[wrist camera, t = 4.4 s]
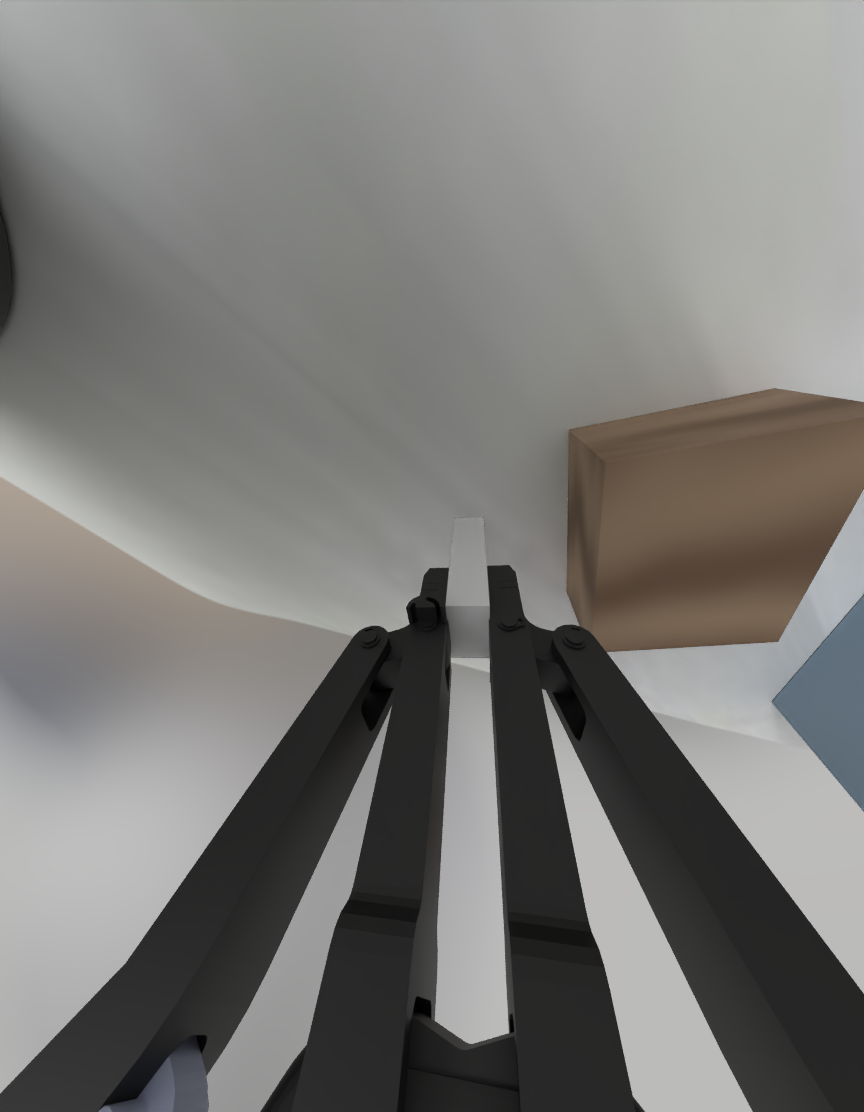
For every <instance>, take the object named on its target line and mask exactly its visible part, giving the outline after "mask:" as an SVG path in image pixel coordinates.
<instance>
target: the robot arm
mask: <svg viewBox="0 0 864 1112" xmlns="http://www.w3.org/2000/svg"><path fill="white" fill-rule="evenodd" d="M11 283H12V279H11V264H10V256H9V249H8V244H7V239H6V234H5V230H4V226H3V222H2V218H1V214H0V330H1V328H2V326H3V325H4V322H5V320H6V317H7V314H8V310H9V306H10V299H11ZM406 609H407V614H408V619H409V623H410V624H409V625H408V626H406V627H404V628H402V629H399V630H395V631H392V632H387V631H386V630H385V629H384V628H382V627H380V626H370V627H366V628H364V629H362V630H360V631H359V632H358V633H357V634H356V635H355V636H354V637H353V639H352V640H351V641H350V643H349V644H348V646H347V647H346V648H345V650H344V651H343V653H342V654H341V656H340V657H339V658H338V660H337V661H336V663H335V664H334V666H333V667H332V669H331V670H330V671H329V673H328V674H327V676H326V677H325V679H324V680H323V682H322V683H321V685H320V686H319V687H318V689H317V690H316V691H315V693H314V694H313V696H312V697H311V699H310V700H309V701H308V703H307V704H306V706H305V707H304V709H303V710H302V712H301V713H300V714H299V716H298V717H297V719H296V720H295V722H294V723H293V724H292V726H291V727H290V729H289V730H288V732H287V733H286V735H285V736H284V737H283V739H282V740H281V742H280V743H279V744H278V746H277V747H276V749H275V750H274V752H273V753H272V754H271V756H270V757H269V759H268V760H267V762H266V763H265V764H264V766H263V767H262V769H261V770H260V772H259V773H258V775H257V776H256V777H255V779H254V780H253V782H252V783H251V785H250V786H249V787H248V789H247V790H246V792H245V793H244V795H243V796H242V797H241V799H240V800H239V802H238V803H237V805H236V806H235V807H234V809H233V810H232V812H231V813H230V815H229V816H228V818H227V819H226V821H225V822H224V823H223V825H222V826H221V828H220V829H219V830H218V832H217V833H216V835H215V836H214V838H213V839H212V841H211V842H210V843H209V845H208V846H207V848H206V849H205V850H204V852H203V854H202V855H201V856H200V858H199V859H198V861H197V862H196V864H195V865H194V866H193V868H192V869H191V870H190V872H189V873H188V875H187V876H186V878H185V879H184V881H183V882H182V883H181V885H180V886H179V888H178V889H177V891H176V892H175V894H174V895H173V896H172V898H171V899H170V901H169V902H168V903H167V905H166V906H165V908H164V909H163V911H162V912H161V913H160V915H159V916H158V918H157V919H156V921H155V922H154V924H153V925H152V926H151V928H150V929H149V931H148V932H147V934H146V935H145V936H144V938H143V939H142V941H141V942H140V944H139V945H138V946H137V948H136V949H135V951H134V952H133V954H132V955H131V956H130V958H129V959H128V961H127V962H126V964H125V965H124V966H123V967H122V968H121V969H120V970H119V971H118V972H117V973H116V974H115V975H114V976H113V977H112V978H111V979H110V980H109V981H108V982H107V983H106V984H105V985H104V986H103V987H102V988H101V990H100V991H99V992H98V993H97V994H96V995H95V996H94V997H93V998H92V999H91V1000H90V1001H89V1002H88V1003H87V1004H86V1005H85V1006H84V1007H83V1008H82V1010H80V1011H79V1012H78V1013H77V1015H76V1016H75V1017H74V1018H73V1019H72V1020H71V1021H70V1022H69V1023H68V1024H67V1025H66V1026H65V1027H64V1028H63V1029H62V1030H61V1031H60V1032H59V1033H58V1034H57V1035H56V1036H55V1037H54V1039H52V1040H51V1041H50V1043H49V1044H48V1045H47V1046H46V1047H45V1048H44V1049H43V1050H42V1051H41V1052H40V1053H39V1054H38V1055H37V1056H36V1057H35V1058H34V1059H33V1060H32V1061H31V1063H29V1064H28V1065H27V1066H26V1068H25V1069H24V1070H23V1071H22V1072H21V1073H20V1074H19V1075H18V1076H17V1077H16V1078H15V1079H14V1080H13V1081H12V1082H11V1083H10V1084H9V1085H8V1086H7V1087H6V1088H5V1089H4V1090H3V1092H2V1093H1V1094H0V1112H208V1108H209V1102H208V1093H207V1090H208V1085H207V1077H206V1076H207V1074H208V1073H209V1071H210V1070H211V1068H212V1067H213V1065H214V1064H215V1062H216V1061H217V1059H218V1058H219V1056H220V1055H221V1053H222V1052H223V1050H224V1049H225V1047H226V1045H227V1044H228V1042H229V1041H230V1039H231V1037H232V1035H233V1033H234V1032H235V1030H236V1029H237V1027H238V1025H239V1023H240V1022H241V1020H242V1018H243V1017H244V1015H245V1013H246V1011H247V1010H248V1008H249V1006H250V1004H251V1002H252V1000H253V998H254V996H255V994H256V992H257V990H258V988H259V986H260V985H261V982H262V980H263V979H264V977H265V975H266V973H267V971H268V968H269V967H270V964H271V962H272V960H273V958H274V956H275V954H276V952H277V949H278V947H279V945H280V943H281V941H282V939H283V937H284V934H285V932H286V930H287V928H288V926H289V924H290V922H291V920H292V917H293V915H294V913H295V911H296V909H297V907H298V904H299V902H300V900H301V898H302V896H303V894H304V892H305V889H306V887H307V885H308V883H309V881H310V879H311V876H312V875H313V873H314V870H315V868H316V866H317V864H318V862H319V860H320V858H321V855H322V853H323V851H324V849H325V847H326V845H327V842H328V841H329V838H330V836H331V834H332V832H333V830H334V827H335V826H336V823H337V821H338V819H339V817H340V815H341V813H342V811H343V809H344V806H345V804H346V802H347V800H348V798H349V796H350V793H351V791H352V789H353V787H354V785H355V783H356V781H357V778H358V777H359V774H360V772H361V770H362V768H363V766H364V764H365V761H366V759H367V757H368V755H369V753H370V751H371V749H372V747H373V744H374V742H375V740H376V738H377V736H378V734H379V732H380V729H381V727H382V725H383V723H384V721H385V719H386V716H387V715H388V712H389V710H390V708H391V706H392V709H391V713H390V719H389V723H388V727H387V732H386V737H385V742H384V746H383V751H382V755H381V760H380V764H379V769H378V774H377V778H376V783H375V788H374V792H373V797H372V802H371V806H370V811H369V816H368V820H367V825H366V830H365V834H364V839H363V844H362V848H361V853H360V857H359V862H358V867H357V872H356V876H355V881H354V885H353V888H352V892H351V895H350V897H349V900H348V901H347V903H346V905H345V906H344V908H343V910H342V911H341V914H340V916H339V918H338V921H337V924H336V926H335V929H334V933H333V937H332V940H331V944H330V948H329V952H328V956H327V961H326V965H325V969H324V974H323V978H322V982H321V987H320V991H319V995H318V999H317V1004H316V1008H315V1012H314V1017H313V1021H312V1025H311V1030H310V1034H309V1038H308V1042H307V1045H306V1046H305V1048H304V1049H303V1050H302V1051H301V1053H300V1054H299V1055H298V1056H297V1058H296V1059H295V1060H294V1061H293V1063H292V1064H291V1066H290V1067H289V1069H288V1070H287V1072H286V1073H285V1075H284V1076H283V1078H282V1079H281V1081H280V1082H279V1084H278V1086H277V1087H276V1089H275V1090H274V1092H273V1093H272V1095H271V1096H270V1098H269V1099H268V1101H267V1102H266V1104H265V1106H264V1107H263V1109H262V1110H261V1112H645V1111H644V1110H643V1109H642V1108H641V1106H640V1105H639V1104H638V1102H637V1101H636V1100H635V1099H634V1097H633V1096H632V1091H631V1087H630V1082H629V1077H628V1072H627V1068H626V1063H625V1058H624V1054H623V1049H622V1044H621V1040H620V1035H619V1030H618V1026H617V1021H616V1016H615V1012H614V1007H613V1003H612V998H611V993H610V988H609V984H608V980H607V976H606V972H605V968H604V964H603V961H602V958H601V954H600V951H599V948H598V946H597V944H596V941H595V939H594V937H593V934H592V932H591V928H590V925H589V921H588V918H587V913H586V908H585V903H584V898H583V893H582V888H581V883H580V878H579V874H578V868H577V863H576V858H575V853H574V848H573V843H572V838H571V833H570V828H569V823H568V819H567V813H566V809H565V804H564V799H563V794H562V789H561V784H560V779H559V774H558V769H557V764H556V759H555V754H554V749H553V744H552V739H551V734H550V729H549V724H548V719H547V714H546V709H545V704H544V699H543V694H542V689H544V690H546V692H547V694H548V696H549V698H550V700H551V702H552V704H553V706H554V708H555V710H556V712H557V714H558V716H559V718H560V721H561V723H562V725H563V727H564V729H565V731H566V733H567V735H568V737H569V739H570V741H571V743H572V745H573V747H574V749H575V752H576V754H577V756H578V758H579V760H580V762H581V764H582V766H583V768H584V770H585V772H586V774H587V776H588V778H589V780H590V782H591V784H592V786H593V789H594V791H595V793H596V795H597V797H598V799H599V801H600V803H601V805H602V807H603V809H604V811H605V813H606V815H607V817H608V819H609V821H610V823H611V825H612V827H613V830H614V832H615V834H616V836H617V838H618V840H619V842H620V844H621V846H622V848H623V850H624V852H625V854H626V856H627V858H628V860H629V862H630V864H631V867H632V869H633V871H634V873H635V875H636V877H637V879H638V881H639V883H640V885H641V887H642V889H643V891H644V893H645V895H646V897H647V899H648V901H649V904H650V906H651V908H652V910H653V912H654V914H655V916H656V918H657V920H658V922H659V924H660V926H661V928H662V930H663V932H664V934H665V936H666V938H667V941H668V943H669V944H670V947H671V948H672V951H673V953H674V955H675V957H676V959H677V961H678V963H679V965H680V967H681V969H682V971H683V973H684V975H685V977H686V980H687V981H688V984H689V986H690V988H691V990H692V992H693V994H694V996H695V998H696V1000H697V1002H698V1004H699V1006H700V1008H701V1010H702V1012H703V1014H704V1017H705V1019H706V1021H707V1023H708V1025H709V1027H710V1029H711V1031H712V1033H713V1035H714V1037H715V1039H716V1041H717V1043H718V1045H719V1047H720V1050H721V1051H722V1053H723V1055H724V1057H725V1059H726V1061H727V1063H728V1065H729V1067H730V1069H731V1071H732V1072H733V1075H734V1076H735V1078H736V1080H737V1082H738V1084H739V1086H740V1088H741V1090H742V1092H743V1094H744V1096H745V1097H746V1099H747V1101H748V1103H749V1105H750V1107H751V1109H752V1111H753V1112H864V994H863V992H862V991H861V990H860V989H859V987H858V986H857V984H856V983H855V982H854V980H853V979H852V978H851V976H850V975H849V974H848V972H847V971H846V970H845V968H844V967H843V966H842V965H841V963H840V962H839V960H838V959H837V958H836V956H835V955H834V954H833V952H832V951H831V950H830V948H829V947H828V946H827V944H826V943H825V942H824V941H823V939H822V938H821V937H820V935H819V934H818V933H817V931H816V930H815V929H814V927H813V926H812V925H811V923H810V922H809V921H808V919H807V918H806V917H805V915H804V914H803V913H802V911H801V910H800V909H799V907H798V906H797V905H796V904H795V902H794V901H793V900H792V898H791V897H790V895H789V894H788V893H787V891H786V890H785V889H784V887H783V886H782V885H781V883H780V882H779V881H778V879H777V878H776V877H775V875H774V874H773V873H772V872H771V870H770V869H769V867H768V866H767V865H766V864H765V862H764V861H763V860H762V858H761V857H760V856H759V854H758V853H757V852H756V850H755V849H754V848H753V846H752V845H751V844H750V842H749V841H748V840H747V838H746V837H745V836H744V834H743V833H742V832H741V830H740V829H739V828H738V826H737V825H736V824H735V822H734V821H733V820H732V819H731V817H730V816H729V814H728V813H727V812H726V810H725V809H724V808H723V806H722V805H721V804H720V803H719V801H718V800H717V798H716V797H715V796H714V795H713V793H712V792H711V790H710V789H709V788H708V787H707V786H706V784H705V783H704V781H703V780H702V779H701V777H700V776H699V775H698V773H697V772H696V771H695V769H694V768H693V767H692V765H691V764H690V763H689V761H688V760H687V759H686V757H685V756H684V755H683V754H682V752H681V751H680V749H679V748H678V747H677V745H676V744H675V743H674V741H673V740H672V739H671V738H670V736H669V735H668V733H667V732H666V731H665V729H664V728H663V727H662V725H661V724H660V723H659V721H658V720H657V719H656V718H655V716H654V715H653V714H652V712H651V711H650V710H649V708H648V707H647V706H646V704H645V703H644V702H643V700H642V699H641V698H640V696H639V695H638V694H637V692H636V691H635V690H634V688H633V687H632V686H631V684H630V683H629V682H628V680H627V679H626V678H625V676H624V675H623V674H622V672H621V671H620V670H619V668H618V667H617V666H616V664H615V663H614V662H613V660H612V659H611V658H610V656H609V655H608V654H607V652H606V651H605V650H604V648H603V647H602V646H601V644H600V643H599V642H598V641H597V639H596V638H595V637H594V635H592V634H591V633H590V632H589V631H588V630H586V629H584V628H582V627H580V626H576V625H563V626H560V627H558V628H557V629H556V630H555V631H554V632H553V631H549V630H545V629H542V628H539V627H536V626H534V625H533V624H531V623H530V622H529V621H528V620H527V619H526V618H525V616H524V613H523V609H522V604H521V598H520V593H519V589H518V583H517V578H516V573H515V571H514V570H513V569H512V568H511V567H510V566H509V565H501V566H487V561H486V547H485V533H484V519H483V517H466V518H454V524H453V534H452V544H451V554H450V565H449V568H430V569H429V570H428V571H427V572H426V574H425V575H424V578H423V583H422V588H421V593H420V596H418V597H416V598H413V599H412V600H411V601H410V602H409V603H408V605H407V607H406ZM451 657H452V658H490V683H491V696H492V697H491V698H492V716H493V734H494V752H495V771H496V787H497V806H498V826H499V843H500V862H501V879H502V898H503V917H504V934H505V959H506V960H505V962H506V984H507V1001H508V1021H509V1034H505V1035H502V1036H499V1037H495V1038H492V1039H488V1040H485V1041H481V1042H478V1043H475V1044H468V1043H466V1042H464V1041H463V1040H461V1039H460V1038H459V1037H457V1036H455V1035H454V1034H453V1033H451V1032H450V1031H448V1030H447V1029H446V1028H444V1027H443V1026H441V1025H440V1024H438V1023H437V1022H435V1003H436V984H437V952H438V949H437V915H438V898H439V881H440V862H441V845H442V826H443V808H444V793H445V775H446V757H447V740H448V721H449V705H450V686H451V662H450V660H451Z"/></svg>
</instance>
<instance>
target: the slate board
mask: <svg viewBox="0 0 864 1112" xmlns="http://www.w3.org/2000/svg"><path fill="white" fill-rule="evenodd" d="M772 703H773V704H774V705H775V706H776V708H777V709H778V710H779V711H780V712H781V714H782V715H783V716H784V717H785V718H786V720H787V721H788V722H789V723H790V724H791V726H792V727H793V728H794V729H795V730H796V731H797V733H798V734H799V735H800V736H801V737H802V739H803V740H804V741H805V742H806V743H807V745H808V746H809V747H810V748H811V749H812V751H813V752H814V753H815V754H816V755H817V756H818V758H819V759H820V760H821V761H822V762H823V764H824V765H825V766H826V767H827V768H828V770H829V771H830V772H831V773H832V774H833V776H834V777H835V778H836V779H837V780H838V782H839V783H840V784H841V785H842V786H843V788H844V789H845V790H846V791H847V792H848V794H849V795H850V796H851V797H852V798H853V799H854V801H855V802H856V803H857V804H858V806H859V807H860V808H861V809H862V810H863V811H864V596H863V597H862V598H861V599H860V600H859V601H858V603H857V604H856V605H855V606H854V607H853V608H852V610H851V611H850V612H849V613H848V614H847V615H846V617H845V618H844V619H843V620H842V621H841V622H840V624H839V625H838V626H837V627H836V628H835V629H834V630H833V632H832V633H831V634H830V635H829V636H828V637H827V639H826V640H825V641H824V642H823V643H822V644H821V646H820V647H819V648H818V649H817V650H816V651H815V652H814V654H813V655H812V656H811V657H810V658H809V659H808V661H807V662H806V663H805V664H804V665H803V666H802V668H801V669H800V670H799V671H798V672H797V673H796V674H795V676H794V677H793V678H792V679H791V680H790V681H789V683H788V684H787V685H786V686H785V687H784V688H783V690H782V691H781V692H780V693H779V694H778V695H777V697H776V698H775V699H774V700H773V701H772Z"/></svg>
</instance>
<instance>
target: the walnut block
mask: <svg viewBox="0 0 864 1112" xmlns="http://www.w3.org/2000/svg"><path fill="white" fill-rule="evenodd" d="M863 490H864V402H859V401H853V400H846V399H840V398H833V397H827V396H820V395H814V394H807V393H801V392H794V391H788V390H781V389H770V390H765V391H760V392H755V393H750V394H745V395H740V396H735V397H730V398H725V399H720V400H715V401H710V402H705V403H700V404H695V405H690V406H685V407H680V408H675V409H670V410H665V411H660V412H655V413H650V414H645V415H640V416H635V417H630V418H625V419H620V420H615V421H610V422H605V423H600V424H595V425H590V426H585V427H580V428H575V429H570V430H569V459H568V535H567V594H568V596H569V599H570V601H571V604H572V607H573V609H574V612H575V614H576V617H577V619H578V622H579V625H580V627H582V628H584V629H586V630H588V631H589V632H590V633H591V634H592V635H594V637H595V638H596V639H597V641H598V642H599V643H600V644H601V646H602V647H603V648H604V650H605V651H606V652H615V651H631V650H648V649H665V648H682V647H698V646H715V645H732V644H749V643H765V642H778V641H779V639H780V637H781V635H782V634H783V632H784V630H785V628H786V626H787V625H788V623H789V621H790V619H791V618H792V616H793V614H794V612H795V610H796V609H797V607H798V605H799V603H800V602H801V600H802V598H803V596H804V594H805V593H806V591H807V589H808V587H809V586H810V584H811V582H812V580H813V578H814V577H815V575H816V573H817V571H818V570H819V568H820V566H821V564H822V562H823V561H824V559H825V557H826V555H827V554H828V552H829V550H830V548H831V546H832V545H833V543H834V541H835V539H836V538H837V536H838V534H839V532H840V530H841V529H842V527H843V525H844V523H845V522H846V520H847V518H848V516H849V514H850V513H851V511H852V509H853V507H854V506H855V504H856V502H857V500H858V498H859V497H860V495H861V493H862V491H863Z"/></svg>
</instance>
